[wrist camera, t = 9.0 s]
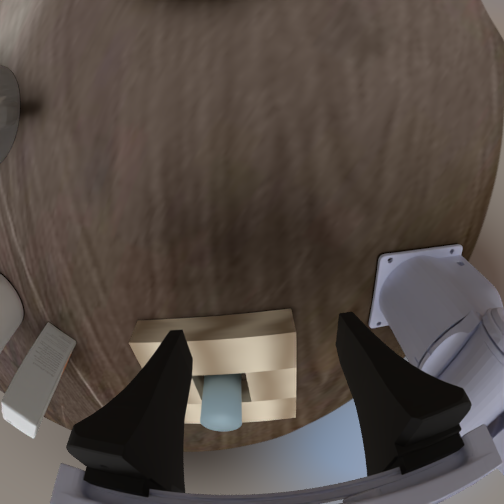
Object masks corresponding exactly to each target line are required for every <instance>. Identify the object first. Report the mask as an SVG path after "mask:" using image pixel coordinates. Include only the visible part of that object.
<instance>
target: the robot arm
mask: <svg viewBox="0 0 504 504" xmlns="http://www.w3.org/2000/svg"><path fill="white" fill-rule="evenodd" d="M451 249H452V250H451ZM462 249H463V248H462V246H461V245H460V244H455V245H448V246H440V247H433V248H426V249H418V250H411V251H403V252H395V253H387V254H382V255H381V256H380V257H379V259H378V266H377V274H376V281H375V288H374V294H373V301H372V306H371V312H370V318H369V323H368V324H369V327H370V328H377V327H382V326H387V325H389V326H390V328H391V330H392V331H393V333H394V335H395V337H396V339H397V340H398V342H399V344H400V346H401V348H402V350H403V352H404V353H405V355H406V357H407V359H408V361H409V362H407V361H406V360H405V359H403V358H402V357H400V356H399V355H398V354H396V353H395V352H394V351H393V350H391V349H390V348H389V347H388V346H387V345H386V344H384V343H383V342H382V341H381V340H380V339H379V338H378V337H377V336H376V335H375V334H374V333H373V332H371V331H370V330H369V329H368V328H367V327H366V326H365V325H364V323H363V322H362V321H361V320H360V319H359V318H358V317H357V316H356V315H355V314H354V313H353V312H347V313H340V314H339V321H338V330H337V339H336V347H337V352H338V356H339V360H340V364H341V367H342V369H343V372H344V375H345V377H346V380H347V383H348V385H349V388H350V391H351V394H352V396H353V399H354V402H355V405H356V409H357V413H358V418H359V423H360V428H361V433H362V438H363V444H364V450H365V458H366V467H367V477H364V478H360V479H356V480H352V481H348V482H343V483H339V484H334V485H329V486H323V487H318V488H312V489H305V490H298V491H290V492H281V493H270V494H252V495H206V494H205V495H204V494H189V493H185V485H184V470H183V469H184V468H183V438H184V421H185V414H186V408H187V403H188V397H189V392H190V386H191V380H192V369H193V358H192V355H191V352H190V349H189V347H188V344H187V341H186V338H185V335H184V332H183V330H170V331H169V332H168V334H167V335H166V337H165V338H164V340H163V341H162V343H161V344H160V345H159V347H158V348H157V350H156V351H155V353H154V354H153V355H152V357H151V358H150V359H149V361H148V362H147V363H146V365H145V366H144V367H143V368H142V370H141V371H140V372H139V373H138V374H137V376H136V377H135V378H134V379H133V380H132V381H131V382H130V383H129V384H128V386H127V387H126V388H125V389H124V390H123V391H121V392H120V393H119V394H118V395H117V396H116V397H115V398H113V399H112V400H111V401H110V402H109V403H108V404H106V405H105V406H104V407H102V408H101V409H99V410H98V411H97V412H95V413H94V414H92V415H91V416H89V417H87V418H85V419H84V420H82V421H80V422H78V423H77V424H75V425H74V426H73V429H72V431H71V434H70V437H69V441H68V443H67V447H66V448H67V450H68V452H69V453H70V454H71V455H73V456H74V457H75V458H76V459H78V460H79V461H80V462H81V463H83V464H84V465H85V466H87V467H86V471H83V470H81V469H79V468H75V467H72V466H69V465H66V464H63V463H61V464H60V467H59V471H58V475H57V478H56V482H55V485H54V489H53V493H52V497H51V501H50V504H320V503H326V502H331V501H336V500H341V499H344V500H343V503H340V504H438V503H440V502H442V501H444V500H446V499H448V498H450V497H451V496H453V495H455V494H457V493H459V492H461V491H463V490H464V489H466V488H468V487H470V486H471V485H473V484H475V483H476V482H478V481H479V480H481V479H482V478H484V477H485V476H487V475H488V474H489V473H491V472H492V471H493V470H495V469H499V470H500V472H501V473H502V474H503V475H504V308H503V304H502V301H501V298H500V295H499V293H498V291H497V290H496V288H495V287H494V286H493V285H492V284H491V283H490V282H489V281H488V280H487V279H486V278H485V277H484V276H483V275H482V274H481V273H480V272H479V271H478V270H477V269H476V268H475V267H473V266H472V265H471V264H470V263H469V262H468V261H467V260H466V259H465V258H464V257H462V256H461V254H462ZM389 258H391V259H390V260H389V261H388V259H389ZM378 322H379V323H378Z"/></svg>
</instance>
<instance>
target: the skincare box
mask: <svg viewBox="0 0 504 504" xmlns="http://www.w3.org/2000/svg"><path fill="white" fill-rule="evenodd" d="M75 345H76V341H75V340H74V339H72V338H71V337H69V336H68V335H66V334H65V333H63V332H62V331H60V330H59V329H58V328H56V327H55V326H54V325H52V324H51V323H49V322H48V323H47V324H46V326H45V327H44V329H43V330H42V332H41V333H40V335H39V336H38V338H37V339H36V341H35V343H34V344H33V346H32V347H31V349H30V351H29V352H28V354H27V356H26V357H25V359H24V360H23V362H22V364H21V366H20V367H19V369H18V371H17V373H16V374H15V376H14V378H13V380H12V382H11V383H10V385H9V387H8V389H7V391H6V393H5V395H4V397H3V399H2V401H1V404H2V413H3V418H4V419H5V420H6V421H7V422H9V423H10V424H12V425H13V426H14V427H16V428H17V429H19V430H20V431H22V432H23V433H25V434H26V435H28V436H30V437H31V438H33V439H34V438H35V436H36V434H37V431H38V429H39V426H40V424H41V421H42V419H43V416H44V414H45V412H46V409H47V407H48V405H49V402H50V400H51V398H52V396H53V393H54V391H55V389H56V387H57V385H58V382H59V380H60V378H61V376H62V374H63V372H64V370H65V368H66V366H67V363H68V360H69V358H70V355H71V353H72V351H73V349H74V347H75Z"/></svg>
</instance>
